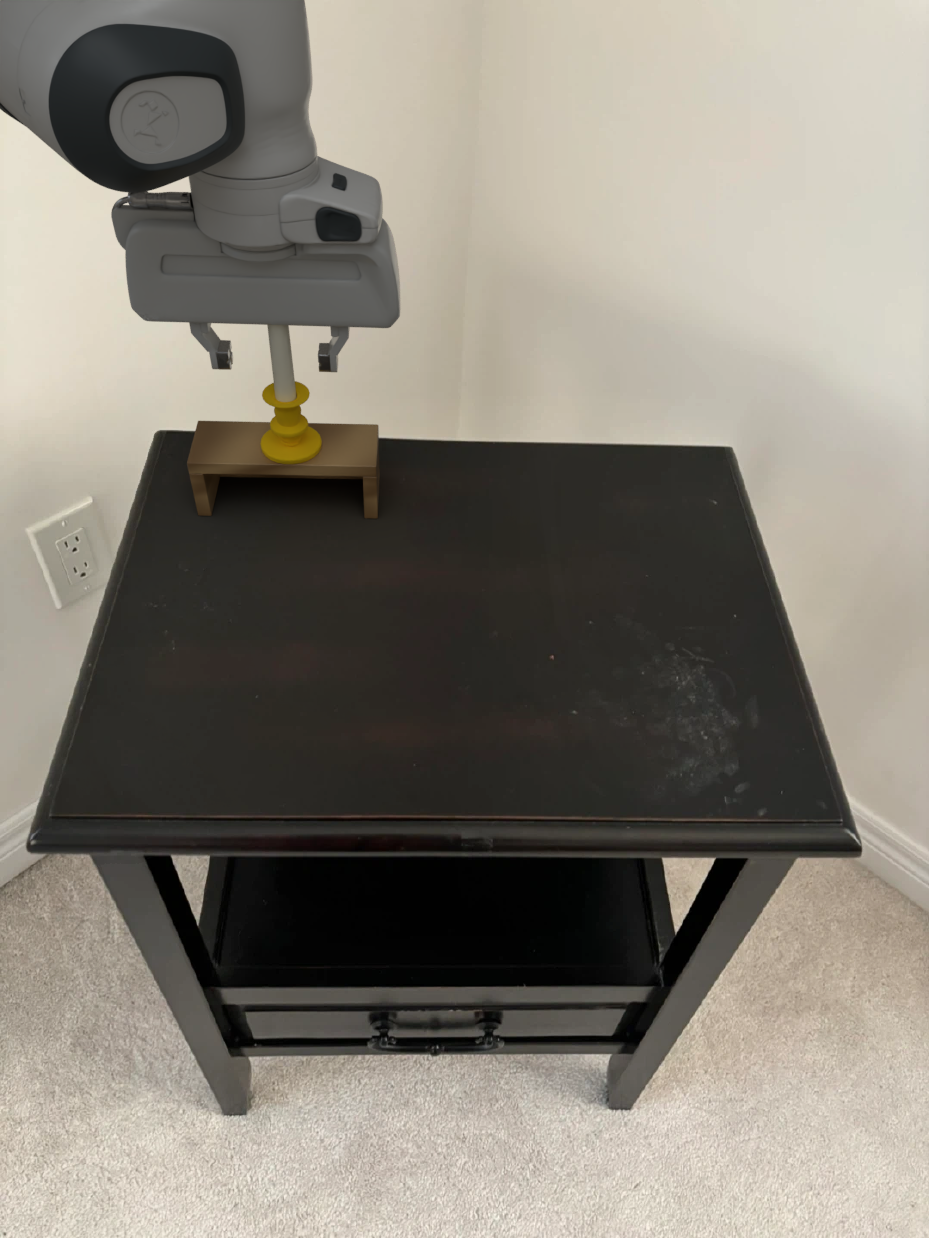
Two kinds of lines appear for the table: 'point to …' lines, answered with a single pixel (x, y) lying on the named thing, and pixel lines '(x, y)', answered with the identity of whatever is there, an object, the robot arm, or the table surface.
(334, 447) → the shelf
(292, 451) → the candle
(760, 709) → the table surface
